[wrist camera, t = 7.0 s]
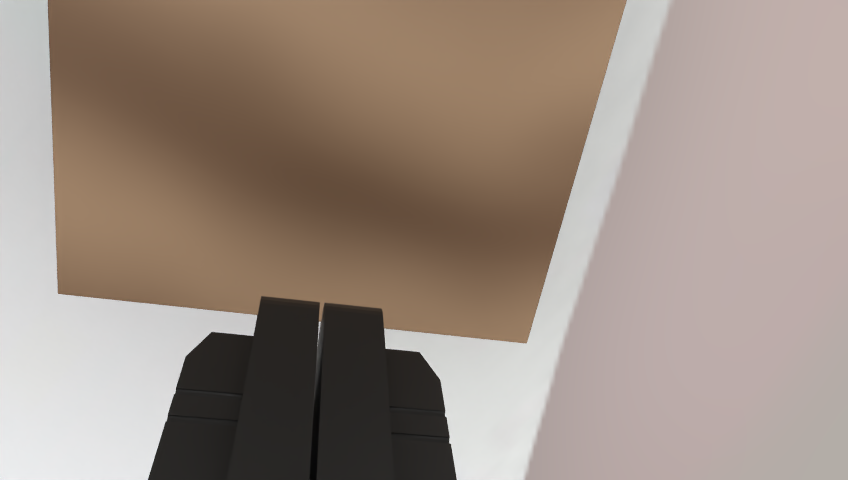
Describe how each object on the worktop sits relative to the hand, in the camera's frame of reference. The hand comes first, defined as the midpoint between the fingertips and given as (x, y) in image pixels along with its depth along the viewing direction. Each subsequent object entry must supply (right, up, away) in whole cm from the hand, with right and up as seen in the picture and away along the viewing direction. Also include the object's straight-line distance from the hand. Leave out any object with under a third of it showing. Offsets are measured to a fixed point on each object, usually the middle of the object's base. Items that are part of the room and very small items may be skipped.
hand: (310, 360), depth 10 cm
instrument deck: (0, +11, +6) cm, 13 cm away
